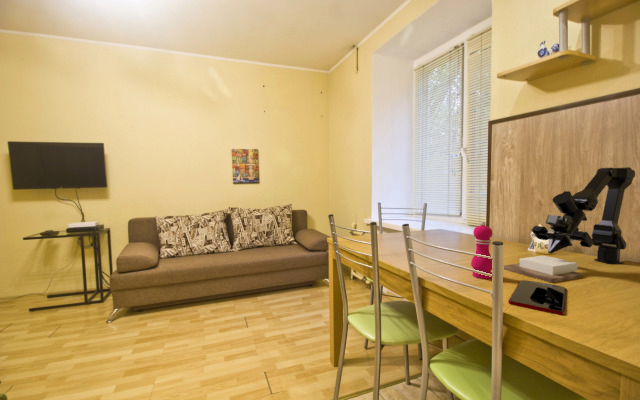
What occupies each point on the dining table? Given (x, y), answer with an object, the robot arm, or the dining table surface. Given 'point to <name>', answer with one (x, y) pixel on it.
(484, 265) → the pepper mill
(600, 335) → the dining table surface
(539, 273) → the brown flat board
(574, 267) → the white flat box
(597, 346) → the dining table surface
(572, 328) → the dining table surface
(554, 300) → the smartphone
